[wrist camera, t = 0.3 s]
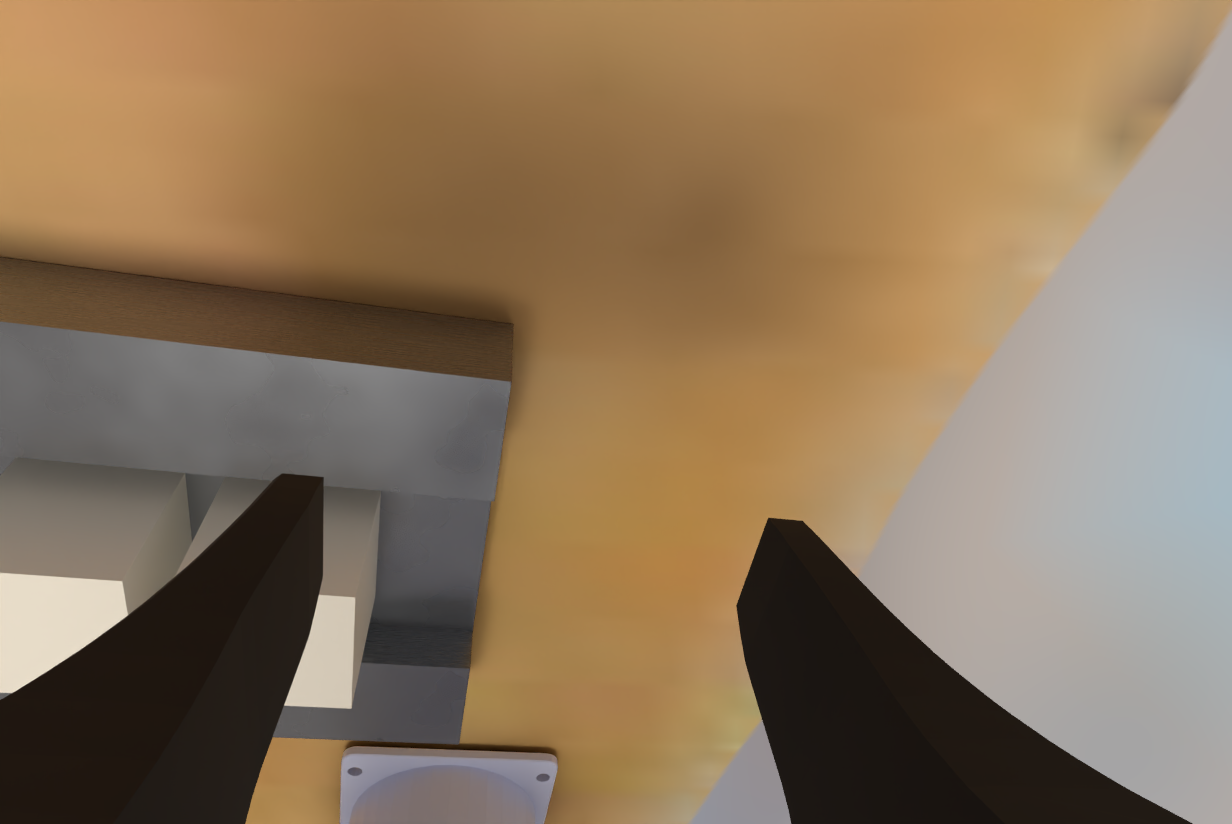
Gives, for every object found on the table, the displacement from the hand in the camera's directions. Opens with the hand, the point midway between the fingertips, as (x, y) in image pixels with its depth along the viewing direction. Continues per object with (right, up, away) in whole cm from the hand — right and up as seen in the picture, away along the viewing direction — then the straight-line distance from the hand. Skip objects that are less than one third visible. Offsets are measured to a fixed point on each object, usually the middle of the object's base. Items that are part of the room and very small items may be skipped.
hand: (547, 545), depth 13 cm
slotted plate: (-12, 0, +10) cm, 16 cm away
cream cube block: (-8, -1, +10) cm, 13 cm away
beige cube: (-13, -1, +9) cm, 15 cm away
